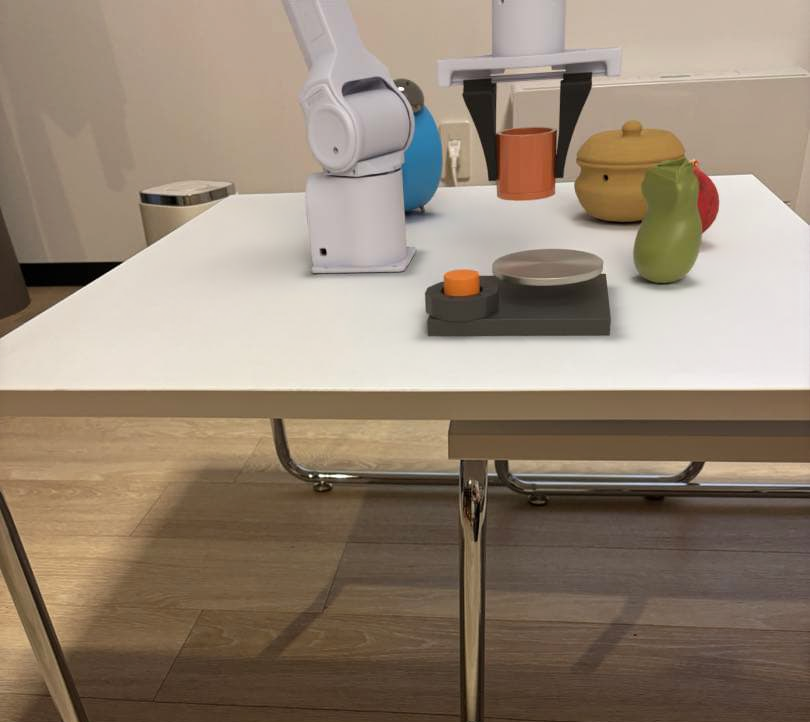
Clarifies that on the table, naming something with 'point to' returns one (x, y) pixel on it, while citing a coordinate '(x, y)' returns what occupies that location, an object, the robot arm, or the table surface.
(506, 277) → the scale pan
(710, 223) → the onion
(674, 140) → the pot
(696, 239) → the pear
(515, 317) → the scale
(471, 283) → the tare button
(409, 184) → the alarm clock
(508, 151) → the orange plastic cup
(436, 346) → the table surface
